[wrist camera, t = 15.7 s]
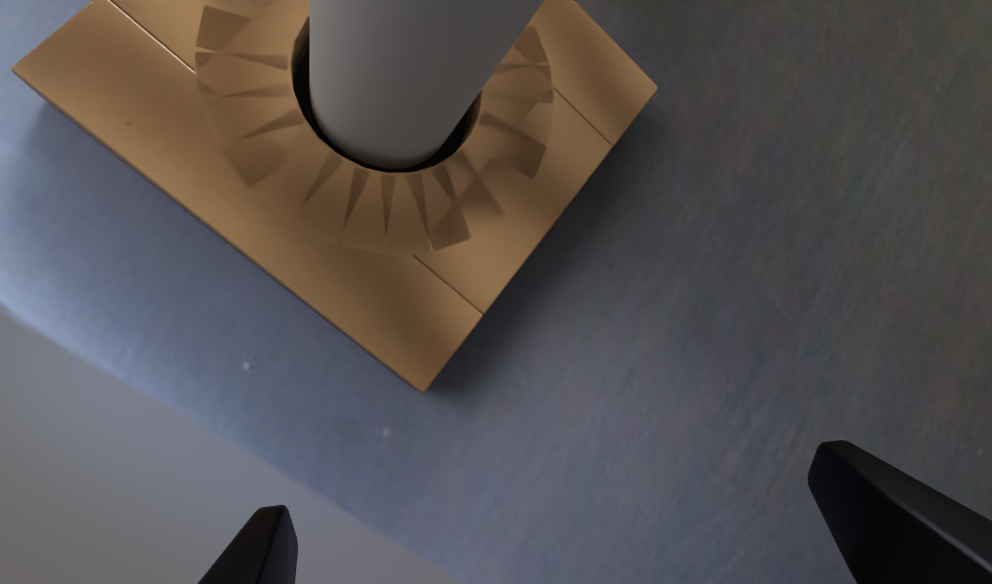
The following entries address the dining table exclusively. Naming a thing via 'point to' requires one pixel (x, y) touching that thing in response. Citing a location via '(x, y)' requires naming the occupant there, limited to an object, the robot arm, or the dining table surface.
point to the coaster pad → (333, 178)
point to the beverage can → (404, 70)
